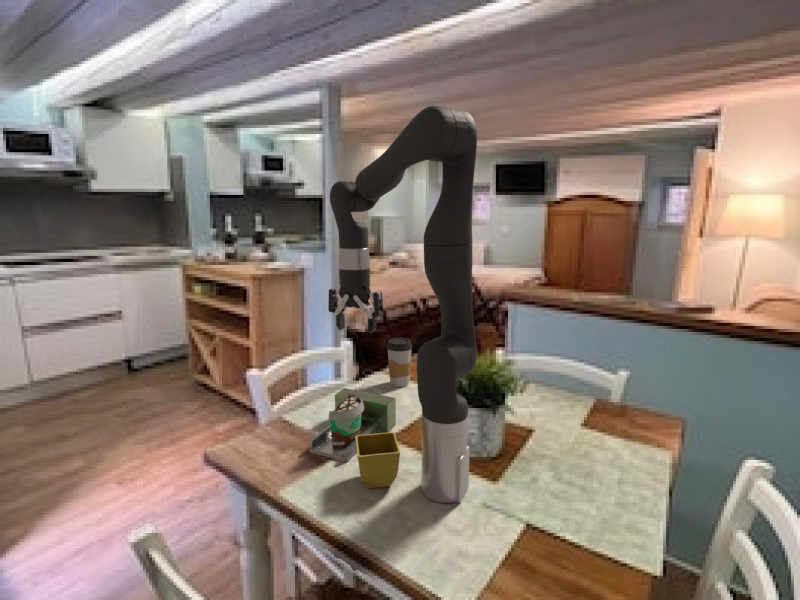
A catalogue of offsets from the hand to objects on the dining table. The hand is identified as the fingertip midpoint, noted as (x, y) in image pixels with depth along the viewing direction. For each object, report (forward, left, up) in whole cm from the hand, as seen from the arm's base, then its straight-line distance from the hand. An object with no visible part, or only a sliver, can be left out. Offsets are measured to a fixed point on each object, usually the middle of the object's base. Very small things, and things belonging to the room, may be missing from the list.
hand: (356, 330), depth 111 cm
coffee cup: (+4, -34, -28) cm, 44 cm away
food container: (-1, +6, -27) cm, 28 cm away
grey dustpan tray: (+1, +3, -28) cm, 28 cm away
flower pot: (-14, +17, -28) cm, 36 cm away
